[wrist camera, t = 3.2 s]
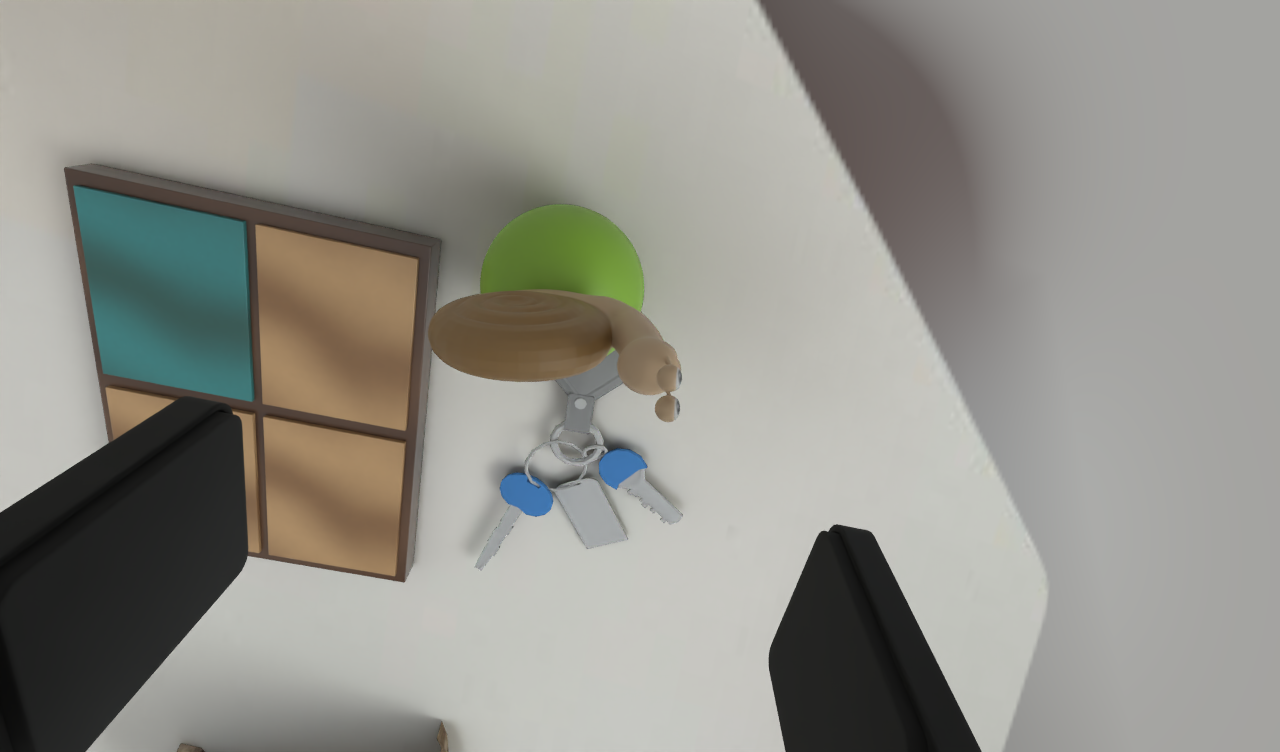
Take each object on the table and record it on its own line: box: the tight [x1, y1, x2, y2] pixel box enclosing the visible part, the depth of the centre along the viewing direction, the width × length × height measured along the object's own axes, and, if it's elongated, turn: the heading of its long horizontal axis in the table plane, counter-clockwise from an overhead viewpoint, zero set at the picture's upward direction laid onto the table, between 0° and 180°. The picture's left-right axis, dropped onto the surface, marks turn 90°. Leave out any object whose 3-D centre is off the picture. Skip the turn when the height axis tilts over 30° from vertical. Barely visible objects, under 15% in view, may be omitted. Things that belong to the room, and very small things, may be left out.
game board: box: [64, 164, 441, 582], centre depth 25 cm, size 16×12×1 cm
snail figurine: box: [428, 204, 682, 422], centre depth 18 cm, size 5×6×12 cm
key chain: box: [474, 350, 683, 570], centre depth 27 cm, size 14×8×1 cm, turn 161°
